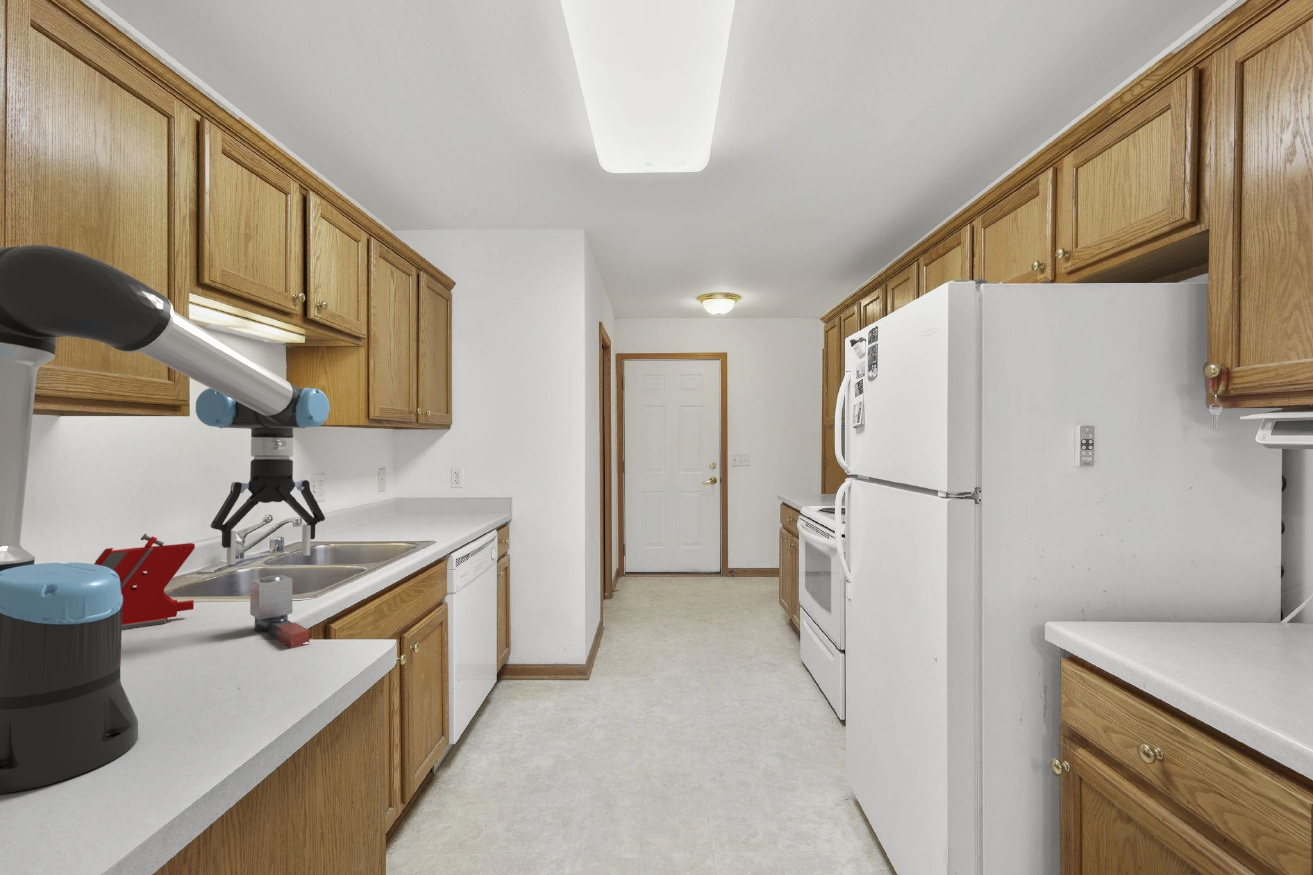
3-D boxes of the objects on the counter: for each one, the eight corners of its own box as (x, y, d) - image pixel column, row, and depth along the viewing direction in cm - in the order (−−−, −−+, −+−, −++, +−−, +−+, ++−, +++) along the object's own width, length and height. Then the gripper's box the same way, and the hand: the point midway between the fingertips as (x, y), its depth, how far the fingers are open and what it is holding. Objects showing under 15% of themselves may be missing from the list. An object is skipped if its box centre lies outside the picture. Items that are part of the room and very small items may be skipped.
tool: (13, 640, 112) (90, 518, 118) (19, 631, 116) (93, 514, 122) (163, 665, 126) (225, 555, 132) (163, 657, 130) (224, 551, 136)
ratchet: (282, 650, 110) (283, 615, 110) (251, 628, 123) (251, 597, 123) (316, 642, 114) (316, 608, 114) (282, 622, 127) (282, 592, 127)
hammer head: (250, 614, 123) (250, 577, 123) (282, 608, 127) (282, 572, 127) (259, 619, 119) (259, 582, 119) (292, 613, 123) (292, 576, 123)
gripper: (203, 458, 112) (200, 570, 111) (341, 458, 130) (340, 553, 130) (194, 458, 116) (191, 565, 116) (328, 458, 135) (327, 549, 135)
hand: (270, 559), depth 123 cm, fingers open, 13 cm apart
